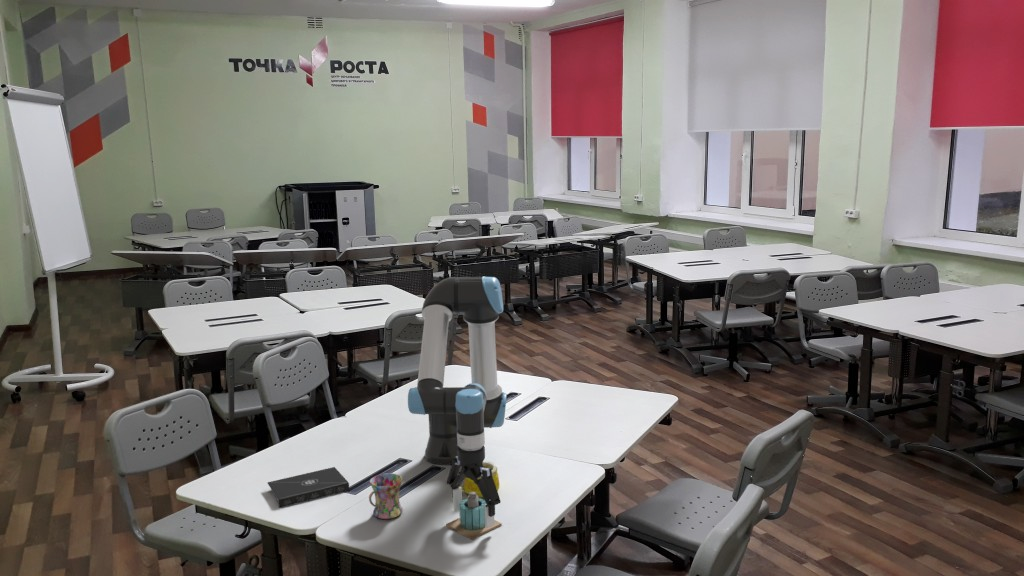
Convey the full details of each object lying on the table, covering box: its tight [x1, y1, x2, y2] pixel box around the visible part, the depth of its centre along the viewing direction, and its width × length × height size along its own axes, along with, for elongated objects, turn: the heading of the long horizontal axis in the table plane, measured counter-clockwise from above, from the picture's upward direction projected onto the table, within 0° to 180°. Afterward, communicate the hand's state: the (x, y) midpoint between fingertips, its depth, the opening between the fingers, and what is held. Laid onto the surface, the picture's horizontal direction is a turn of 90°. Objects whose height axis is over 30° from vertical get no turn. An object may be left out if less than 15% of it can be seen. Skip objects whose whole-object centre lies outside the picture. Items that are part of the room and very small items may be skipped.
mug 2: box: [458, 461, 500, 499], centre depth 234 cm, size 13×11×12 cm
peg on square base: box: [445, 492, 503, 541], centre depth 213 cm, size 11×11×10 cm
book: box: [267, 466, 350, 508], centre depth 239 cm, size 22×15×3 cm
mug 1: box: [368, 472, 404, 520], centre depth 220 cm, size 12×9×11 cm
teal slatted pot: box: [458, 497, 486, 530], centre depth 213 cm, size 8×8×6 cm
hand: (473, 517), depth 214 cm, fingers open, 13 cm apart
